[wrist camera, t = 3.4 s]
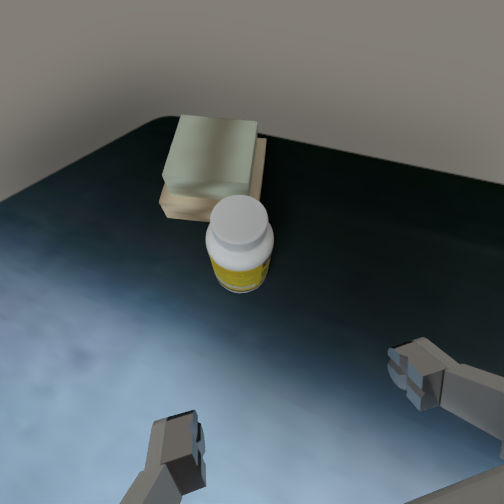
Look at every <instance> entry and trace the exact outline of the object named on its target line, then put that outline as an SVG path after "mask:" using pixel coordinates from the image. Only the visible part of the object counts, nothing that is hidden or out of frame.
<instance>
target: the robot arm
mask: <svg viewBox="0 0 504 504" xmlns="http://www.w3.org/2000/svg"><path fill="white" fill-rule="evenodd" d="M388 356H389V357H390V358H391V359H390V361H389V362H388V371H389V373H390V376H391V378H392V379H393V381H394V382H395V383H396V385H397V386H398V387H400V388H402V389H404V390H406V394H407V397H408V398H409V399H410V401H411V402H412V403H413V404H414V405H415V406H416V407H417V408H418V410H419V411H422V410H425V409H429V408H432V407H435V406H438V405H440V406H441V407H443V408H444V409H446V410H448V411H450V412H452V413H453V414H455V415H457V416H459V417H460V418H462V419H464V420H466V421H468V422H469V423H471V424H473V425H475V426H477V427H478V428H480V429H482V430H484V431H486V432H487V433H489V434H491V435H493V436H495V437H496V438H498V439H500V440H502V445H501V449H500V457H501V458H502V459H503V460H504V377H501V376H498V375H495V374H492V373H489V372H486V371H483V370H480V369H477V368H474V367H471V366H469V365H466V364H461V365H460V364H458V363H457V362H456V361H455V360H453V359H452V358H451V357H449V356H448V355H447V354H446V353H444V352H443V351H442V350H441V349H439V348H438V347H437V346H435V345H434V344H433V343H432V342H430V341H429V340H428V339H426V338H423V337H422V338H419V339H416V340H412V341H408V342H405V343H402V344H399V345H396V346H393V347H390V348H389V350H388ZM204 453H205V440H204V433H203V429H202V426H201V423H199V422H198V415H197V413H196V411H195V410H191V411H188V412H184V413H181V414H177V415H174V416H170V417H167V418H164V419H160V420H157V421H154V423H153V425H152V429H151V435H150V441H149V446H148V452H147V458H146V464H145V470H144V471H141V472H140V473H139V474H138V476H137V477H136V479H135V481H134V482H133V484H132V485H131V487H130V488H129V490H128V491H127V493H126V494H125V496H124V498H123V499H122V501H121V502H120V504H180V502H181V499H182V496H183V495H185V494H188V493H190V492H193V491H195V490H198V489H201V488H203V487H206V465H205V462H204V460H203V455H204ZM404 504H504V464H503V465H500V466H498V467H495V468H493V469H490V470H488V471H485V472H483V473H480V474H477V475H475V476H472V477H470V478H467V479H465V480H462V481H460V482H457V483H455V484H452V485H450V486H447V487H445V488H442V489H439V490H437V491H434V492H432V493H429V494H427V495H424V496H422V497H419V498H417V499H414V500H412V501H409V502H407V503H404Z"/></svg>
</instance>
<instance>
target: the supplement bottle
mask: <svg viewBox="0 0 504 504" xmlns="http://www.w3.org/2000/svg"><path fill="white" fill-rule="evenodd" d="M273 244H274V235H273V230H272V227H271V225H270V224H269V222H268V215H267V212H266V209H265V208H264V206H263V205H262V204H261V203H260V202H259V201H258V200H256V199H255V198H253V197H250V196H246V195H232V196H229V197H226V198H224V199H222V200H221V201H219V202H218V203H217V204H216V205H215V207H214V208H213V210H212V213H211V217H210V225H209V227H208V229H207V232H206V246H207V250H208V253H209V256H210V259H211V262H212V266H213V269H214V272H215V275H216V277H217V279H218V281H219V282H220V284H221V285H222V286H223V287H225V288H226V289H228V290H230V291H232V292H236V293H246V292H250V291H252V290H254V289H256V288H258V287H259V286H260V285H261V284H262V283H263V281H264V280H265V278H266V275H267V273H268V268H269V263H270V258H271V254H272V250H273Z"/></svg>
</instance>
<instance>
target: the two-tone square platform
mask: <svg viewBox="0 0 504 504" xmlns="http://www.w3.org/2000/svg"><path fill="white" fill-rule="evenodd" d="M257 125H258V122H257V121H247V120H235V119H224V118H213V117H202V116H190V115H181V117H180V120H179V124H178V127H177V130H176V133H175V136H174V139H173V142H172V145H171V149H170V152H169V155H168V158H167V161H166V164H165V167H164V170H163V173H162V176H163V178H164V181H165V184H164V187H163V190H162V194H161V197H160V200H159V203H160V205H161V207H162V209H163V210H164V212H165V214H166V216H167V218H175V219H185V220H194V221H204V222H210V217H211V213H212V210H213V208H214V207H215V205H216V204H217V203H218V202H219V201H221V200H222V199H224V198H226V197H229V196H232V195H246V196H250V197H253V198H255V199H256V200H258V201H259V202H260V195H261V186H262V178H263V170H264V161H265V150H266V139H264V138H257Z"/></svg>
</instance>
